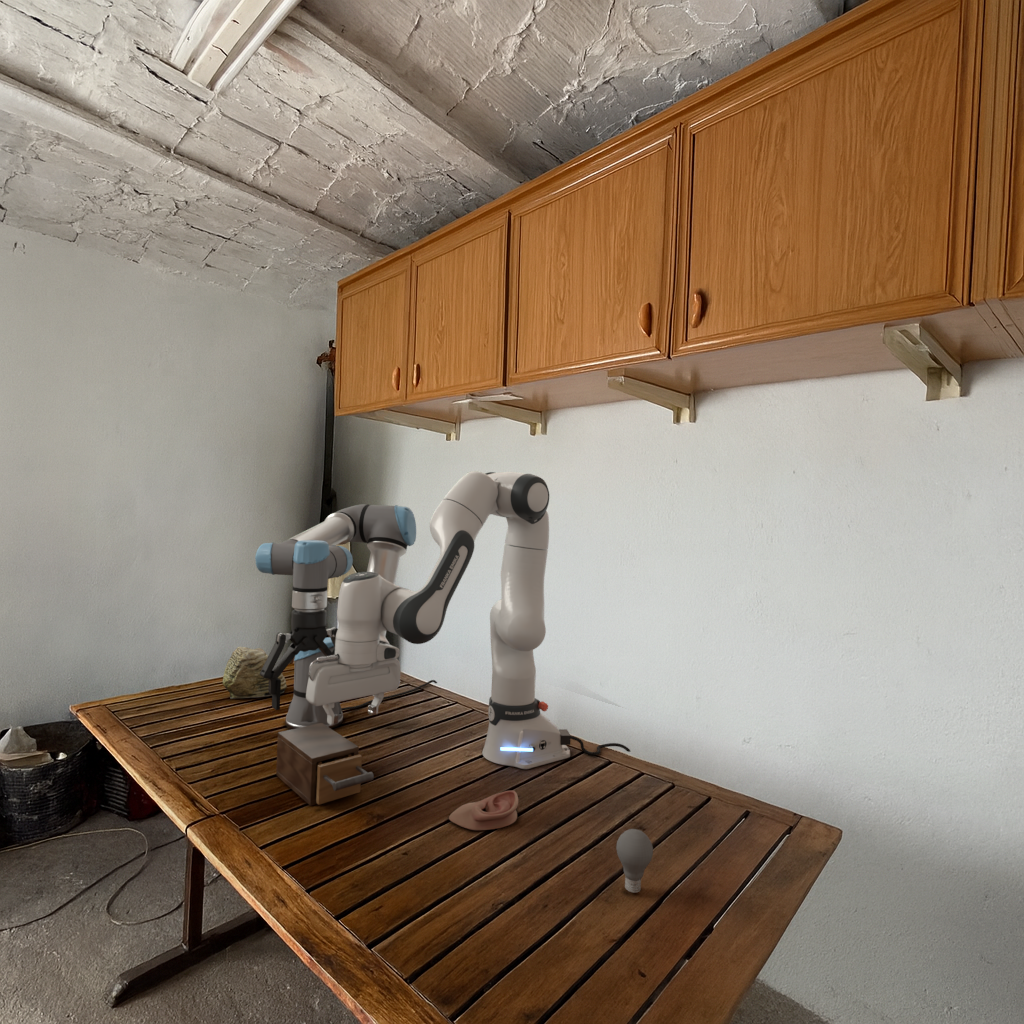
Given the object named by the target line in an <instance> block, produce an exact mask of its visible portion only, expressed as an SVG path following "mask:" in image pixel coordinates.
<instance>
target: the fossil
mask: <svg viewBox="0 0 1024 1024" xmlns="http://www.w3.org/2000/svg"><path fill="white" fill-rule="evenodd" d="M268 656H269V654H267V653H266V652H265V650H264V649H263V648H260V647H258V648H251V647H247V646H246V647H245V646H238V647H237V648H236V649H235V650H233V651H232V653H231V656H230V657H229V659H228V660H227V663H226V666H225V668H224V671H223V675H222V676H223V677H222V685H223V687H224V688H225V690H226V691H228V693H229V698H230V699H250V698H264V697H272V695H271V694H270V693H269V692H268V687H269V686H268V685H269V679H265V678H264V677H262V676H261V675H260V672H261V670H262V668H263V666H264V664H265V662H266V660H267V658H268ZM278 678H279V679H280V680H281V692H280V694H284V693H285V691H286V689H287V687H288V686H287V680H286V678H285V676H284V674H283V672H282V673H281V674H280V676H279V677H278Z"/></svg>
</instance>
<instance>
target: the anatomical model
mask: <svg viewBox="0 0 1024 1024" xmlns="http://www.w3.org/2000/svg"><path fill="white" fill-rule="evenodd" d="M518 807H519V796H518V793H517V791H515V790H505V791H501V792H498V793H496V794H492V795H490V796H488V797H486V798H483V799H481V800H478V801H475V802H474V801H472V802H467V803H465V804H463V805H461V806H459V807H457V808H456V809H455V810H453V811H452V812H451V813H450V815H449V816H448V820H449V821H450V822H451V823H453V824H455V825H457V826H459V827H462V828H465V829H466V830H467V829H468V830H470V831H489V830H495V829H501V828H504V827H507V826H510V825H513V824H514V823H515V822H516V821H517V819H518V812H517V809H518Z"/></svg>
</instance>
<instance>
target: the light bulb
mask: <svg viewBox="0 0 1024 1024" xmlns="http://www.w3.org/2000/svg"><path fill="white" fill-rule="evenodd" d="M615 849H616V854H617V857H618V859H619V861H620V863H621V865H622V867H623V873H624V874H623V875H624V876H625V878H624V888H625V890H627V891H628V892H630V893H634V894H635V893H639V892H640V891H641V889H642V887H641V886H642V879H643V877H644V875H645V871H646V868H647V867H648V866H649V864H650V863H651V861H652V859H653V855H654V847H653V843H652V841H651V838H649V836H648V835H647V834H646V833H645V832H643V831H642V830H641V829H636V828H629V829H627V830H625V831H623V832H622V833H621V834H620V835H619V837H618V839H617V841H616V847H615Z"/></svg>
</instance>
